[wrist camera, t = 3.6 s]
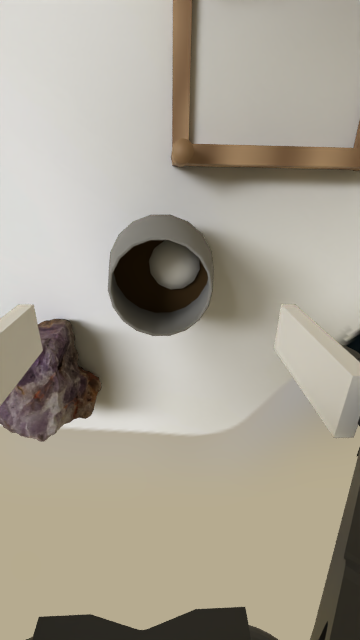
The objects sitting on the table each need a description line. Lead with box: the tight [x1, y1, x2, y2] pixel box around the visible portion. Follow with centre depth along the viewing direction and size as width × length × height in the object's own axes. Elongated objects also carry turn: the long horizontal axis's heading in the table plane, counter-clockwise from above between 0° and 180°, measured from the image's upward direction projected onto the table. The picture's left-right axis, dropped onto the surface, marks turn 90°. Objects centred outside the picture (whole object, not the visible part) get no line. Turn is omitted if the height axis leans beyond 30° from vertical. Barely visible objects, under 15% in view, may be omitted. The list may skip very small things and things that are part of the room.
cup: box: [108, 215, 214, 336], centre depth 26 cm, size 10×9×10 cm
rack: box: [171, 0, 360, 171], centre depth 22 cm, size 18×15×5 cm
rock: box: [0, 319, 101, 441], centre depth 31 cm, size 12×9×10 cm
